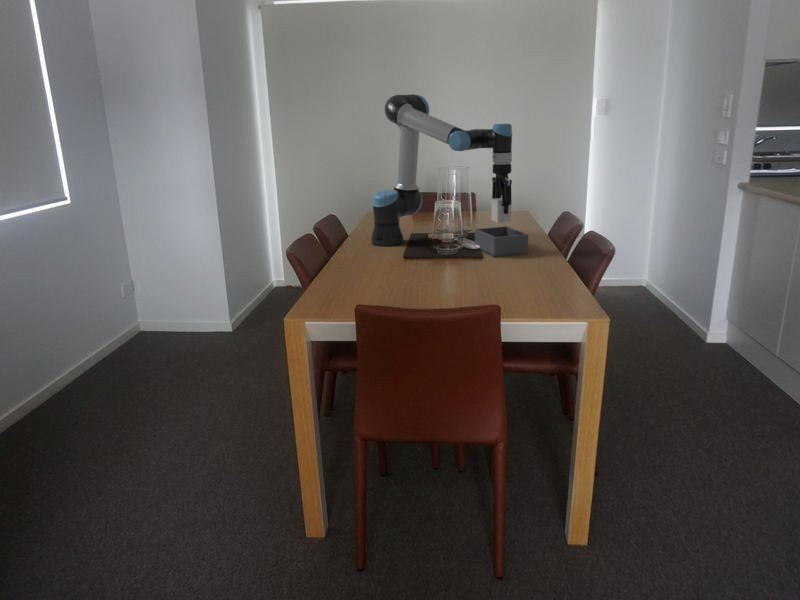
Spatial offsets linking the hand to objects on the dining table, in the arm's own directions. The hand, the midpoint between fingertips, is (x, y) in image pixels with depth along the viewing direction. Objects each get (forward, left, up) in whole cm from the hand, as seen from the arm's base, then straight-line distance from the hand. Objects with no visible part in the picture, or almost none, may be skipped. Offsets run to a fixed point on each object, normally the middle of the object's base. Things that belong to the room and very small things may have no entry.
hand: (501, 220), depth 249 cm
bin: (0, 0, -13) cm, 13 cm away
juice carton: (0, 0, 0) cm, 0 cm away
